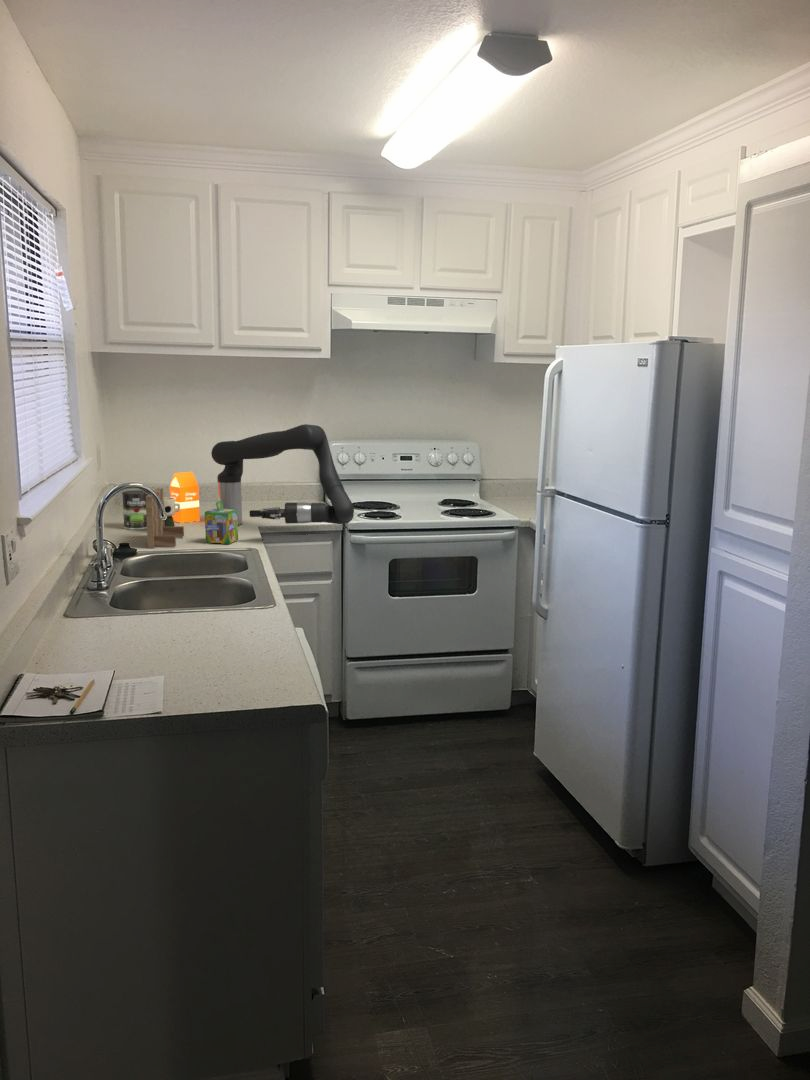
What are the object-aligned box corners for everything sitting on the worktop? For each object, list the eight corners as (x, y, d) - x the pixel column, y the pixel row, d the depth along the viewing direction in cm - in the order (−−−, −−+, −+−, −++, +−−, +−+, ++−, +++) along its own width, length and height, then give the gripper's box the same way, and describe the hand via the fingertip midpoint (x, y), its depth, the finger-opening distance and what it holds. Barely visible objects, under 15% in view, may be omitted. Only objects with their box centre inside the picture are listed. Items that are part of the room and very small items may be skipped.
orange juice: (170, 521, 354) (168, 472, 350) (189, 518, 360) (187, 471, 356) (181, 523, 348) (179, 474, 345) (200, 521, 355) (198, 472, 351)
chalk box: (229, 545, 306) (228, 503, 303) (204, 543, 307) (203, 502, 305) (239, 540, 315) (238, 500, 312) (215, 539, 316) (214, 499, 314)
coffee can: (151, 529, 334) (149, 493, 332) (123, 530, 332) (121, 493, 329) (151, 525, 344) (150, 489, 342) (124, 526, 342) (122, 490, 339)
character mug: (149, 534, 325) (148, 499, 322) (154, 530, 332) (153, 497, 329) (178, 534, 325) (177, 500, 323) (183, 531, 332) (182, 497, 330)
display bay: (159, 536, 320) (157, 488, 316) (184, 536, 320) (182, 488, 317) (147, 548, 298) (145, 496, 295) (174, 548, 299) (172, 496, 296)
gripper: (298, 500, 317) (250, 500, 316) (297, 505, 304) (247, 505, 303) (299, 520, 319) (251, 521, 317) (298, 526, 306) (248, 526, 304)
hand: (249, 513), depth 310 cm, fingers closed
